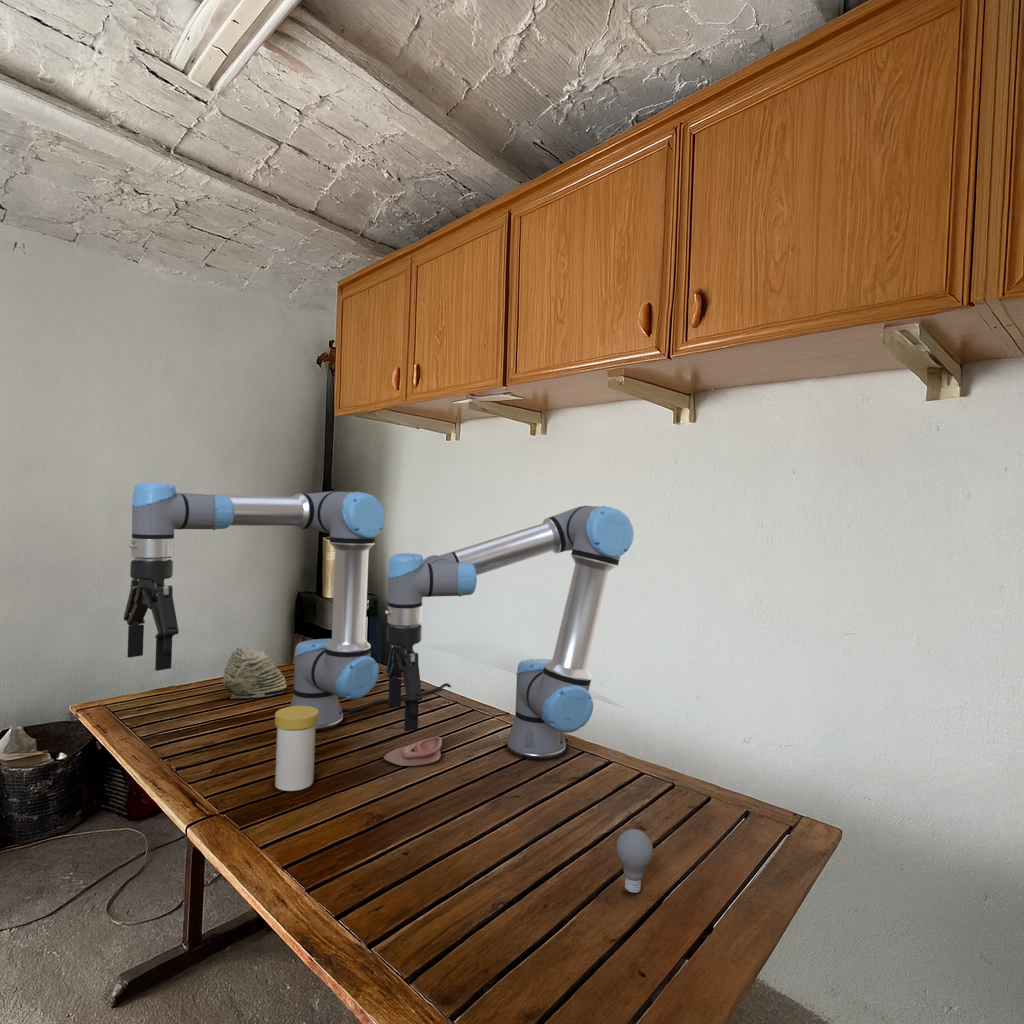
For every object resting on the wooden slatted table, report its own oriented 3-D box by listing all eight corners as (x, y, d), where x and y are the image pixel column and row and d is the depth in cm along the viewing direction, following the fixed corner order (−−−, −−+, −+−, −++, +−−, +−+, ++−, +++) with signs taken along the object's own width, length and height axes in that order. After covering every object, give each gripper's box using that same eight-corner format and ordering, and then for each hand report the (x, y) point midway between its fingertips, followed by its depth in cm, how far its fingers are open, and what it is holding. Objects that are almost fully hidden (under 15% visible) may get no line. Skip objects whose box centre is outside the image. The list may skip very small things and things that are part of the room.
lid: (302, 712, 146) (303, 702, 146) (326, 722, 140) (326, 712, 140) (266, 722, 139) (266, 712, 139) (290, 733, 133) (290, 722, 133)
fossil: (218, 695, 195) (220, 647, 195) (278, 685, 208) (279, 640, 207) (228, 703, 189) (230, 653, 188) (289, 692, 201) (290, 645, 201)
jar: (299, 771, 145) (302, 705, 145) (321, 782, 140) (323, 714, 140) (267, 782, 139) (269, 714, 139) (288, 794, 134) (291, 723, 134)
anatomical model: (378, 746, 151) (397, 729, 163) (378, 762, 151) (396, 745, 163) (431, 753, 149) (446, 735, 160) (431, 770, 149) (445, 751, 160)
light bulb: (610, 879, 108) (613, 822, 108) (644, 879, 109) (647, 822, 109) (619, 902, 102) (622, 840, 102) (655, 901, 103) (658, 840, 103)
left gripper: (108, 554, 134) (104, 654, 134) (159, 565, 118) (155, 678, 119) (146, 552, 140) (143, 648, 140) (199, 563, 124) (195, 671, 124)
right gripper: (374, 612, 149) (372, 700, 151) (403, 640, 127) (400, 743, 128) (405, 610, 152) (403, 696, 154) (438, 637, 130) (436, 737, 131)
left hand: (148, 662), depth 129 cm, fingers open, 13 cm apart
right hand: (402, 718), depth 141 cm, fingers open, 13 cm apart
